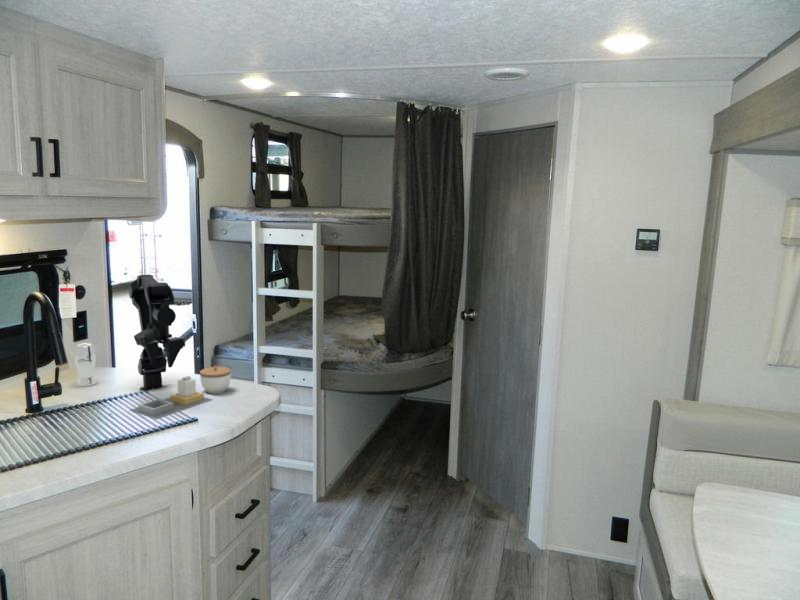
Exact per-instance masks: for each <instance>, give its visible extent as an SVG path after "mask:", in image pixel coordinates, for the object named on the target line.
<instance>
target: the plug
mask: <svg viewBox="0 0 800 600" xmlns="http://www.w3.org/2000/svg"><path fill="white" fill-rule="evenodd" d="M196 385H197V383H196V379H195V378H192V377H191V376H189V375H187V376H184V377H182V378H181V379H178V380H177V393H178V396H181V397H184V398H187V397H190V396H193V395H196V391H197V390H196Z"/></svg>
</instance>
